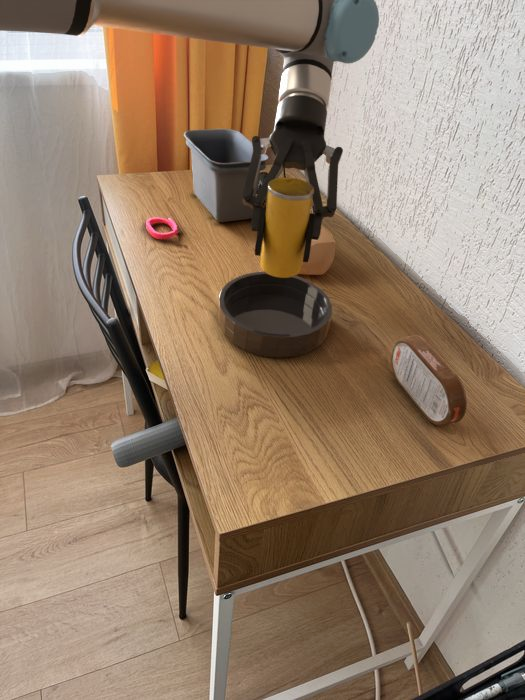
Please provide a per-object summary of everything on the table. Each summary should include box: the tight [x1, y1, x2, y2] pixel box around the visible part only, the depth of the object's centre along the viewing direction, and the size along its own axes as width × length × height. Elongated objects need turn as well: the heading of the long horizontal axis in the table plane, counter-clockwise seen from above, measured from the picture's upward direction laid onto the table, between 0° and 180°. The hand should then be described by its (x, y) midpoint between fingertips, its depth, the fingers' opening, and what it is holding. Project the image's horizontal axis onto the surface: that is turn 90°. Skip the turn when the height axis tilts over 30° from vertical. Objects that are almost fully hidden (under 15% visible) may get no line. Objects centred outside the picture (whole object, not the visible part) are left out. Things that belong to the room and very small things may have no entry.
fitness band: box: [145, 217, 179, 240], centre depth 110 cm, size 8×6×2 cm
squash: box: [298, 225, 336, 276], centre depth 104 cm, size 11×20×9 cm, turn 28°
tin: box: [390, 334, 468, 427], centre depth 75 cm, size 15×3×8 cm, turn 21°
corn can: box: [259, 177, 314, 278], centre depth 78 cm, size 6×6×13 cm
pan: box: [217, 271, 333, 359], centre depth 88 cm, size 19×19×4 cm
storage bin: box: [183, 128, 270, 223], centre depth 118 cm, size 21×16×14 cm
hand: (281, 256), depth 77 cm, fingers closed on corn can, 6 cm apart
